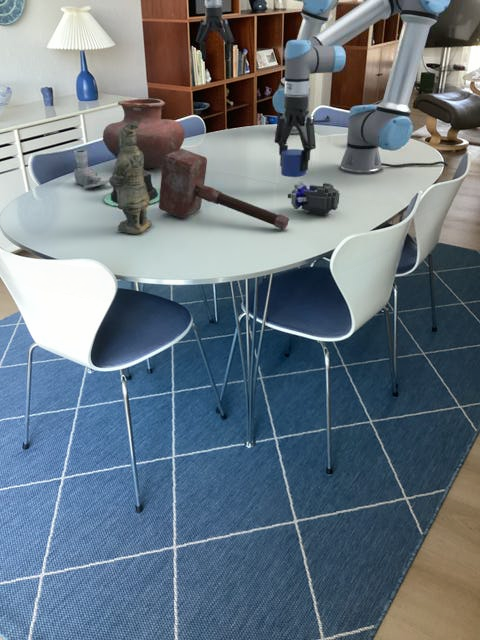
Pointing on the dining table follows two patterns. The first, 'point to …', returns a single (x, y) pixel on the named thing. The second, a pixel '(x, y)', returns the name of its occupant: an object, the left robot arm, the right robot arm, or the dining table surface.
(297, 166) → the canister
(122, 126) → the clay pot
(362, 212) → the dining table surface
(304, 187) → the toy
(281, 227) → the sledgehammer
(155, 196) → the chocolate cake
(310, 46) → the right robot arm
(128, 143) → the statue
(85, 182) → the grey boot
